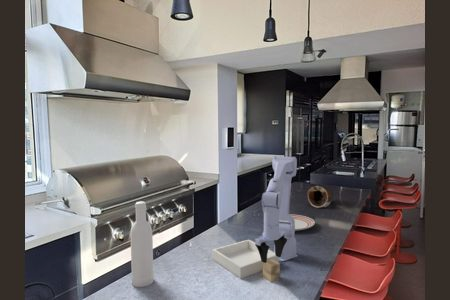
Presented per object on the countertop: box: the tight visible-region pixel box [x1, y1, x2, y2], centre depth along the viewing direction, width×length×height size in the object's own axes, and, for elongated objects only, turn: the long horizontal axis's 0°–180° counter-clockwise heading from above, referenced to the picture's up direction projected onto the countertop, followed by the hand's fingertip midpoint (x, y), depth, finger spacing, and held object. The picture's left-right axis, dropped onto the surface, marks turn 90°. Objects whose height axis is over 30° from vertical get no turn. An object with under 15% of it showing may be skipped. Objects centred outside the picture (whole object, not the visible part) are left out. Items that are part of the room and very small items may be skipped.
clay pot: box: [307, 185, 334, 209], centre depth 219 cm, size 15×15×25 cm
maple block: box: [262, 259, 281, 283], centre depth 114 cm, size 4×4×6 cm
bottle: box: [129, 200, 155, 288], centre depth 110 cm, size 8×8×30 cm
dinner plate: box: [279, 213, 316, 232], centre depth 173 cm, size 28×27×3 cm
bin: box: [211, 239, 280, 280], centre depth 127 cm, size 20×20×4 cm
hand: (271, 259), depth 113 cm, fingers open, 7 cm apart
